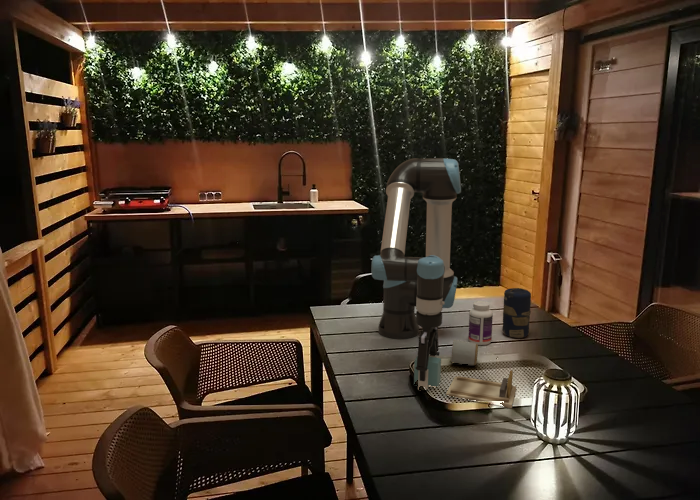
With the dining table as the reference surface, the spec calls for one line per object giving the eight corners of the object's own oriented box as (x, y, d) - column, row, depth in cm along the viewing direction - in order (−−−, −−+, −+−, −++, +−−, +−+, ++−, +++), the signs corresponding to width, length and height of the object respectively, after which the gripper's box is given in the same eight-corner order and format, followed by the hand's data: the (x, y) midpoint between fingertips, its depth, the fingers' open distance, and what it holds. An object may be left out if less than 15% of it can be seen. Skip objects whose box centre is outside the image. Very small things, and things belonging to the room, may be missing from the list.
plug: (413, 385, 164) (414, 359, 163) (417, 379, 168) (418, 354, 166) (437, 389, 162) (437, 363, 160) (440, 383, 165) (441, 358, 164)
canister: (531, 339, 200) (535, 291, 196) (505, 339, 200) (508, 291, 196) (524, 330, 209) (527, 284, 205) (499, 330, 209) (501, 284, 206)
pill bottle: (489, 338, 201) (491, 300, 198) (492, 346, 194) (495, 307, 190) (467, 337, 202) (468, 299, 199) (469, 345, 194) (471, 306, 191)
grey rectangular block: (476, 369, 175) (478, 346, 173) (450, 366, 177) (451, 344, 175) (477, 357, 185) (478, 335, 184) (452, 354, 187) (453, 333, 185)
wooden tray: (446, 396, 157) (446, 373, 155) (454, 379, 168) (455, 358, 166) (511, 408, 150) (513, 384, 149) (516, 389, 161) (517, 367, 160)
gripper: (432, 324, 149) (430, 401, 153) (450, 301, 169) (447, 370, 173) (405, 321, 152) (404, 396, 156) (426, 299, 172) (424, 366, 176)
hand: (427, 382), depth 165 cm, fingers open, 9 cm apart
